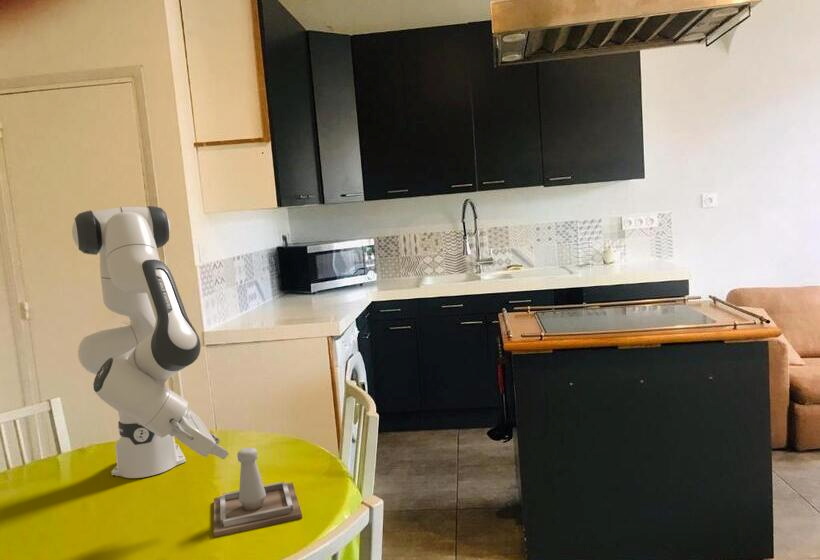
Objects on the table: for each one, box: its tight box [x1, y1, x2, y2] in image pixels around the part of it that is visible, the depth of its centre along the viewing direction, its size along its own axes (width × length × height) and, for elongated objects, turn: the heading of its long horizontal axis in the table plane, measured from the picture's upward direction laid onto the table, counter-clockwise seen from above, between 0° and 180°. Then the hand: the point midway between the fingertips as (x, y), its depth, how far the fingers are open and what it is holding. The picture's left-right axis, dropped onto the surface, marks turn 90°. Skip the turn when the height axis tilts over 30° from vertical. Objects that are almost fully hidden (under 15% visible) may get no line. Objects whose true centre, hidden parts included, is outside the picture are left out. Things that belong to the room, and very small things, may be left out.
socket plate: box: [213, 481, 303, 538], centre depth 149 cm, size 18×18×2 cm
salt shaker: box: [236, 446, 266, 510], centre depth 148 cm, size 6×6×13 cm
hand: (221, 449), depth 145 cm, fingers open, 8 cm apart
